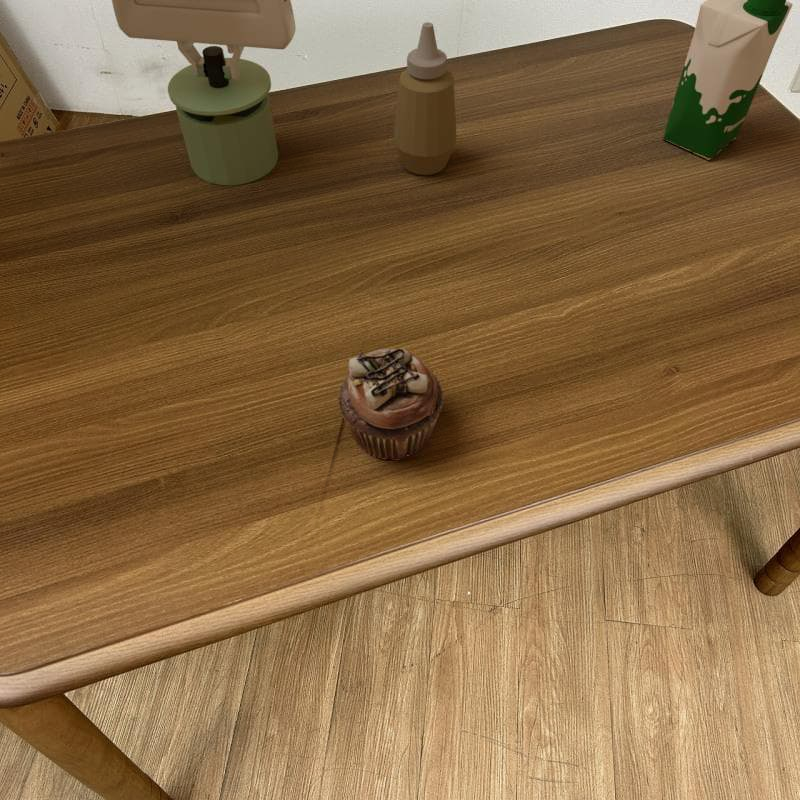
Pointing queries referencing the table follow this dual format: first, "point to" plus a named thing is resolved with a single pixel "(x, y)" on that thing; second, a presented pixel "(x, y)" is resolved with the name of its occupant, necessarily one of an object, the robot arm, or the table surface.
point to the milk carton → (723, 71)
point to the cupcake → (390, 402)
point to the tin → (231, 145)
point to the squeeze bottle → (425, 108)
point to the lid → (219, 86)
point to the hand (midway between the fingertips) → (217, 76)
